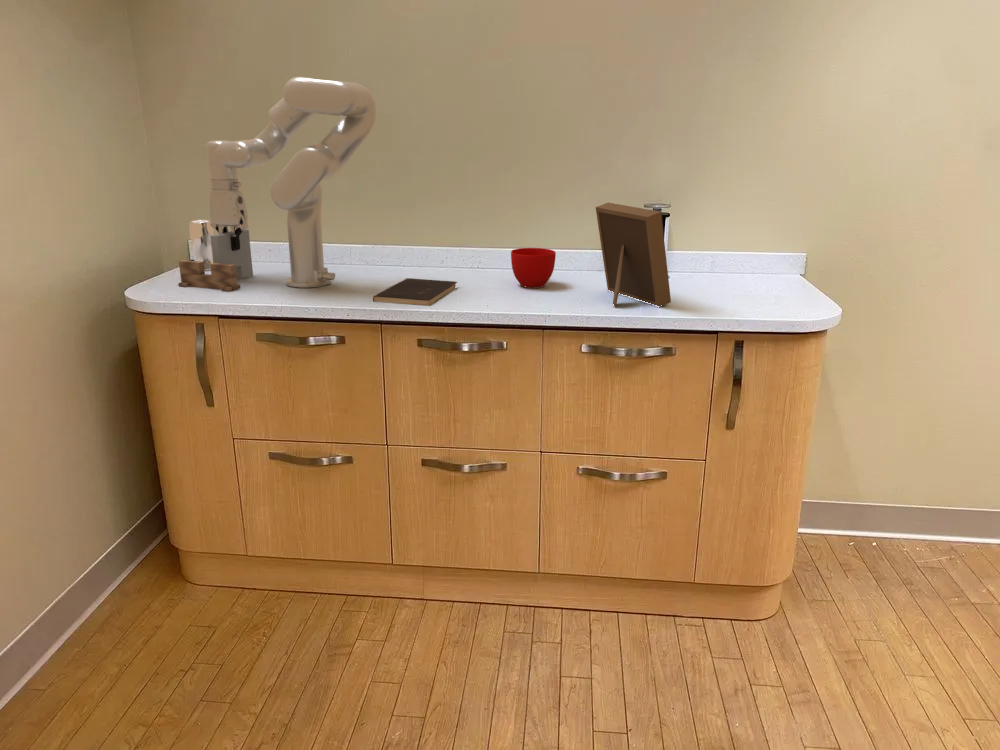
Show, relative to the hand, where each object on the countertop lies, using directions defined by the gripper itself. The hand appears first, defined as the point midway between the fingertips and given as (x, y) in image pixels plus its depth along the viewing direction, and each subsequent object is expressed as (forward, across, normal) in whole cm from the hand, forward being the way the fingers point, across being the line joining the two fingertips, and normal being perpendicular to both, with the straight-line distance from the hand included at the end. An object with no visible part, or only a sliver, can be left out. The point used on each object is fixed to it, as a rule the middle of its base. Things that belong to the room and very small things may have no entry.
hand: (231, 249), depth 224 cm
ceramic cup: (+9, -84, -29) cm, 89 cm away
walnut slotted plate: (+9, 0, +11) cm, 14 cm away
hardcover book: (+10, -58, -4) cm, 59 cm away
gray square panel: (+9, 0, 0) cm, 9 cm away
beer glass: (+9, +19, -10) cm, 23 cm away
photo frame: (+10, -113, -19) cm, 115 cm away
